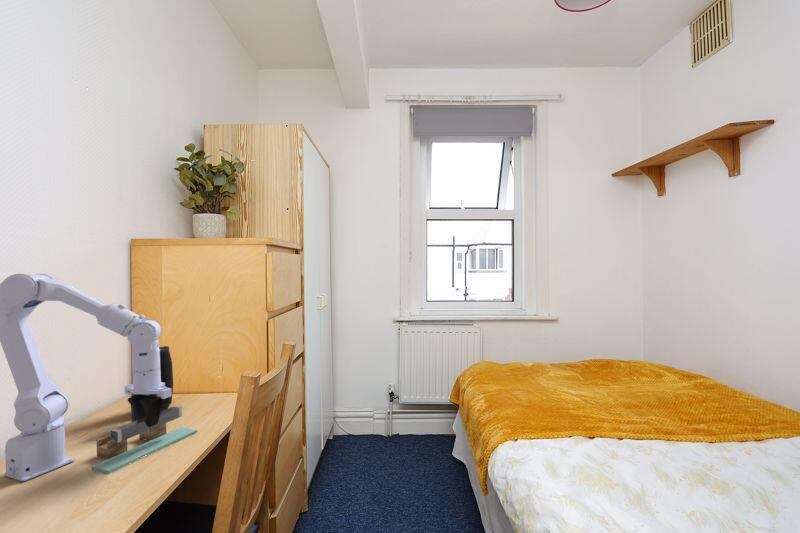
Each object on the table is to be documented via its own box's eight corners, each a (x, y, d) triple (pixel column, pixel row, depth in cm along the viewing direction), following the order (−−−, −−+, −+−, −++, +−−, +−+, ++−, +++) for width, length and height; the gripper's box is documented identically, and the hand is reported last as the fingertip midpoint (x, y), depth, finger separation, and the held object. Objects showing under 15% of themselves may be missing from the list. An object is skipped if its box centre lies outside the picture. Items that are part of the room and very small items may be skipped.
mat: (108, 473, 83) (108, 470, 83) (91, 469, 86) (91, 466, 86) (197, 432, 104) (197, 429, 104) (181, 429, 106) (181, 427, 106)
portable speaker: (139, 408, 124) (137, 348, 124) (173, 402, 129) (171, 343, 129) (139, 416, 117) (137, 352, 117) (174, 409, 122) (172, 347, 122)
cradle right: (151, 441, 99) (151, 425, 99) (139, 438, 101) (138, 423, 101) (166, 435, 102) (165, 420, 102) (154, 432, 104) (153, 417, 104)
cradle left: (109, 460, 89) (109, 442, 89) (97, 456, 91) (96, 440, 91) (127, 452, 93) (126, 435, 93) (114, 449, 95) (114, 433, 95)
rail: (117, 442, 87) (117, 431, 87) (111, 441, 88) (110, 430, 88) (182, 416, 101) (181, 406, 101) (175, 415, 102) (175, 405, 102)
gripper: (182, 367, 95) (184, 421, 95) (143, 363, 101) (145, 415, 101) (154, 374, 89) (156, 433, 89) (114, 370, 95) (116, 425, 95)
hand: (148, 424), depth 95 cm, fingers closed on rail, 2 cm apart
